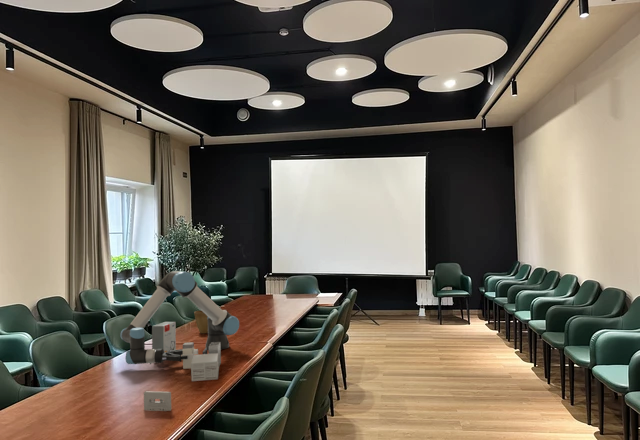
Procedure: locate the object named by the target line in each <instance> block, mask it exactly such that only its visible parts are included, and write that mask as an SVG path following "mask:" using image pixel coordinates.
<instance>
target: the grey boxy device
mask: <svg viewBox="0 0 640 440" xmlns="http://www.w3.org/2000/svg"><path fill="white" fill-rule="evenodd" d="M221 350H222V349H221V346H220V342H211V344H210V345H209V350H208V354H214V353H218V361H219V367H220V365H221V363H222V354H221V353H222V352H221Z"/></svg>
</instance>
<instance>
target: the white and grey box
mask: <svg viewBox="0 0 640 440" xmlns="http://www.w3.org/2000/svg"><path fill="white" fill-rule="evenodd" d="M182 349H183V354H194V349H195V343H194V342H193V341H192V342H191V341H190V342H184V343H183V344H182ZM194 355H195V354H194ZM191 362H192V359H189V360H182V368H183V370H184V369H185V370H186V369H191Z"/></svg>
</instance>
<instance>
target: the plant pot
mask: <svg viewBox="0 0 640 440" xmlns="http://www.w3.org/2000/svg"><path fill="white" fill-rule="evenodd" d="M193 313H194V319H195V323H196V327H197V330H198V332H199V334H208V320H207V318H208V316H207V315H206V314H205V313H204V312H203V311H201V310H196V311H194V312H193Z"/></svg>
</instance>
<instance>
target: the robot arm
mask: <svg viewBox="0 0 640 440" xmlns="http://www.w3.org/2000/svg"><path fill="white" fill-rule="evenodd" d="M175 291H176V292H177V294H179V295H180V296H181V297H182V298H187V299H188V300H189V301H190V302H191V303H193V304H194V305H195V306H196V307H197V308H198V309H199V311H203V312H204V313H205V314H206V315H207V316H208V318H207V320H208V333H207V337H206V342H205V348H207V351H209V345H210V344H211V342H220V346H221V350H225V349H228V348H230V341H229V339H228V336H232V335H235V334H236V333H237V332H238V331H239V328H240V320H239V319H238V317H237V316H234V315H232V314H231V313H230V312H228V311H227V309H222V308H221V307H220V306H219V305H218V304H216V303H215V302H214V301H213V300H212V299H211V298H210V296H208V295H207V294H206V293H205V292H203V290H202V289H201V288H199V287H198V282H197V281H196V280H195V277H194V276H193V275H192V273H190V272H189V271H183V270H182V271H178V270H173V271H170V272H168V273H167V274H166V275H165V276H164V277H162V279H161V281H160V282H159V283H158V284H157V286H156V290H154V292H153V294H152V295H151V296H150V298H149V299H148V300H147V301H146V303H145V304H144V305H143V307H142V308H140V311H139V312H138V313H137V315H135V317H134V319H132V321H131V322H130V323H129V325H128V326H127V327H125V328H123V329H122V330H121V331H120V338H121V340H122V341H124V342H126V343H128V344H129V348H130V349H129V350H127V351H126V353H125V362H126V364H127V365H143V364H149V365H152V364H155V363H156V364H161V363H163V362H165V361H168V362H169V361H170V362H183V360H189V359H193V356H194V355H199V348H194V354H183V348H179V349H176V350H169V351H167V352H164V350H163V349H152V348H151V349H149V348H147V349H146V348H145V346H146V345H145V340H146V339H145V336H146V335H145V329H144V328H145V327H146V325H147V324H148V323H149V322H150V320H151V319H152V318H153V316H154V315H155V313H156V312H157V310H159V308H160V306H161V305H162V304H163V303H164V302H165V300H166V299H167V297H170V296H171V295H172V293H174V292H175Z"/></svg>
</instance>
